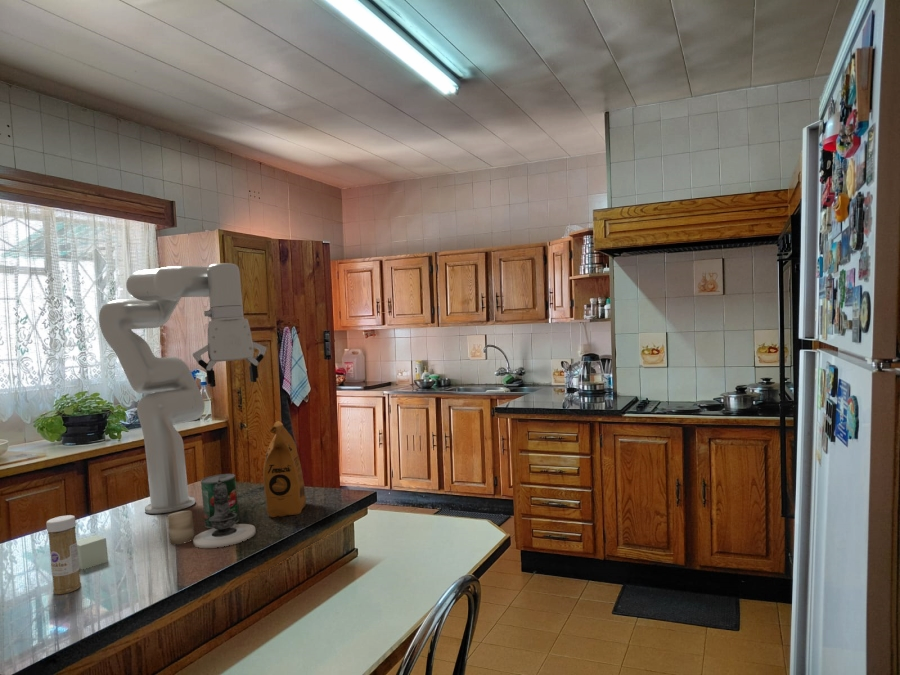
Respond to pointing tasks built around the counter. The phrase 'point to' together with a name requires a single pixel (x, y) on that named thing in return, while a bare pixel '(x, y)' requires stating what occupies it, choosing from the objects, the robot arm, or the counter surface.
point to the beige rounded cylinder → (180, 527)
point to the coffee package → (283, 475)
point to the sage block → (92, 551)
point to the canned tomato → (208, 495)
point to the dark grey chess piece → (222, 512)
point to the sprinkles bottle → (63, 554)
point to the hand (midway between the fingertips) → (233, 384)
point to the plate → (224, 537)
